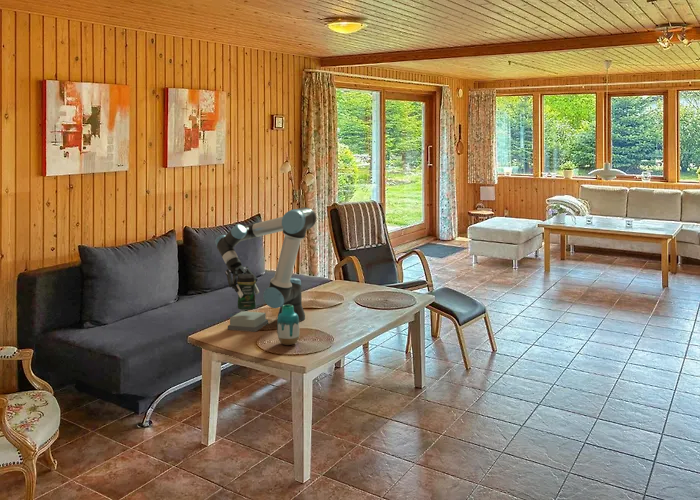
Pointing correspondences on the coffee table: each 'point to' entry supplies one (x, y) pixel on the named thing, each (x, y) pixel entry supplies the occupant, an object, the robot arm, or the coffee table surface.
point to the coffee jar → (246, 291)
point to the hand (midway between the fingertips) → (250, 294)
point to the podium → (248, 321)
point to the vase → (288, 325)
